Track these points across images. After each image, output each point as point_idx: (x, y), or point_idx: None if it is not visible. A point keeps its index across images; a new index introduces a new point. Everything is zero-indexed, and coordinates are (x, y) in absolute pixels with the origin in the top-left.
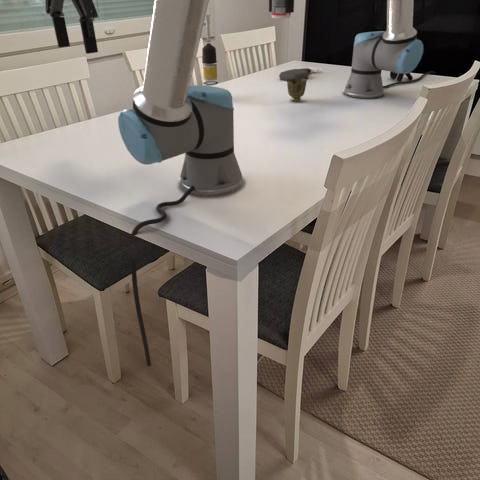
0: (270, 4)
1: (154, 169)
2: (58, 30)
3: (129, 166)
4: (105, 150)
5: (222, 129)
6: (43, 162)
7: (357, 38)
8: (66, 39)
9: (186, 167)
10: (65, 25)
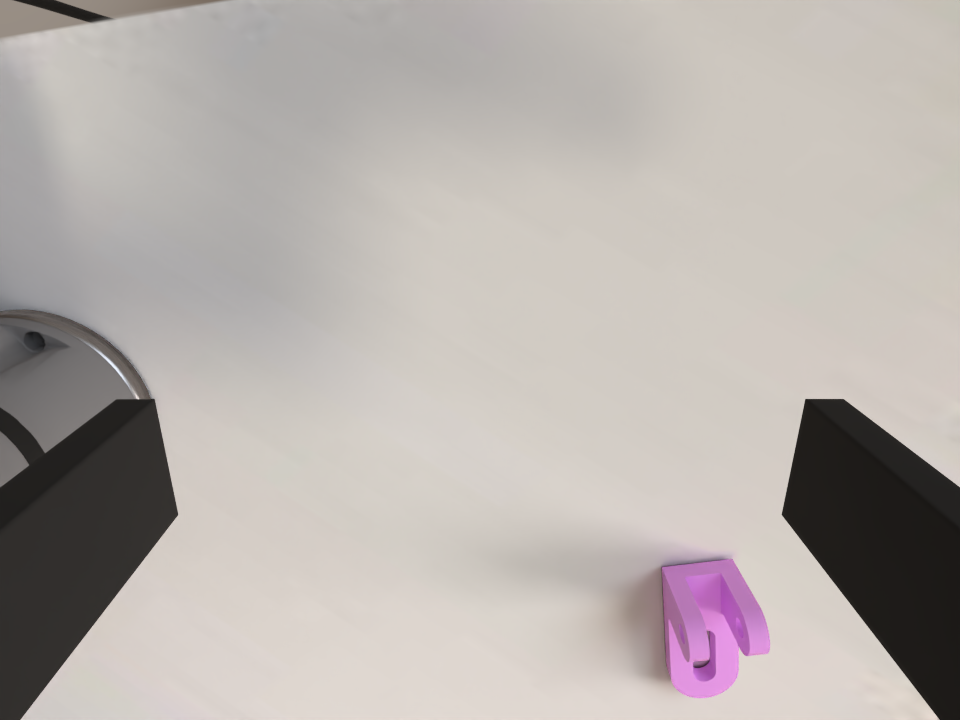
0: None
1: (291, 353)
2: (925, 543)
3: (385, 305)
4: (614, 332)
5: None
6: (714, 63)
7: None
8: (827, 539)
9: (11, 366)
10: (931, 702)
